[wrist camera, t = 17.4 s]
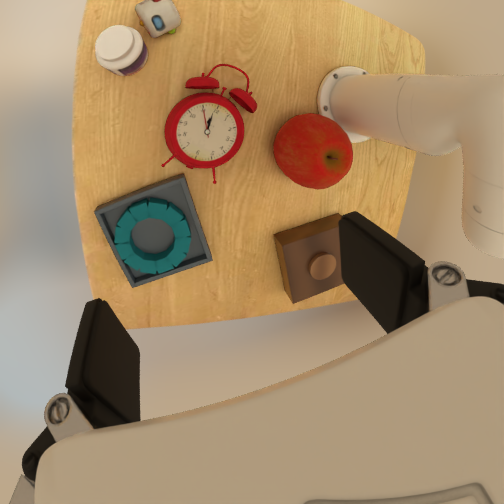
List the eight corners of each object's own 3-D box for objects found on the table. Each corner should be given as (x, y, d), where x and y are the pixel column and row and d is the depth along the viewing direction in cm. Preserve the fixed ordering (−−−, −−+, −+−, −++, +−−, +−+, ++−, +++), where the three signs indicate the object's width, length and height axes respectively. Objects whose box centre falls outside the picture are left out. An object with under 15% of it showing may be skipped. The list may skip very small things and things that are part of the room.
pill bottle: (152, 40, 27) (146, 19, 18) (143, 77, 29) (133, 66, 21) (113, 39, 25) (95, 19, 17) (104, 76, 27) (83, 66, 19)
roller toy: (152, 46, 27) (148, 35, 22) (132, 14, 24) (126, -1, 19) (182, 30, 27) (184, 18, 22) (162, -2, 24) (161, -18, 19)
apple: (322, 182, 43) (359, 205, 34) (261, 173, 40) (286, 196, 31) (336, 120, 38) (378, 129, 29) (273, 105, 35) (304, 107, 26)
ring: (175, 187, 37) (175, 191, 35) (199, 252, 43) (200, 259, 41) (105, 214, 36) (102, 219, 34) (135, 274, 42) (133, 282, 40)
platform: (338, 213, 47) (353, 224, 43) (341, 268, 53) (354, 282, 49) (273, 234, 45) (283, 248, 41) (284, 290, 52) (294, 306, 48)
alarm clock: (149, 167, 32) (196, 52, 24) (155, 150, 36) (197, 52, 28) (226, 191, 36) (281, 87, 28) (222, 171, 41) (269, 81, 33)
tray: (183, 173, 37) (184, 176, 35) (210, 253, 44) (212, 260, 42) (97, 206, 35) (93, 211, 34) (133, 280, 43) (132, 288, 41)
